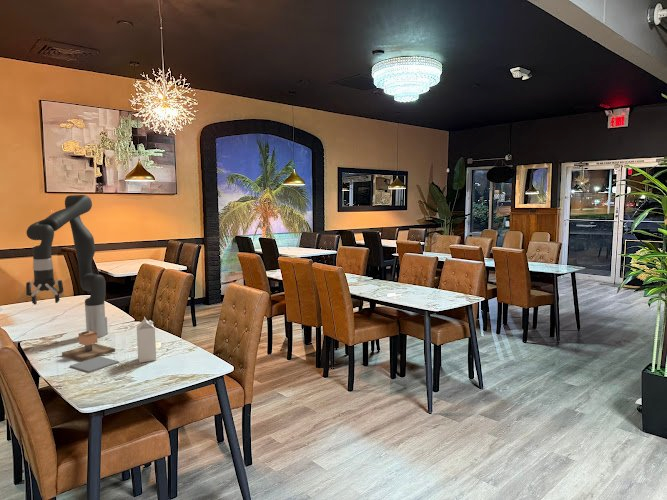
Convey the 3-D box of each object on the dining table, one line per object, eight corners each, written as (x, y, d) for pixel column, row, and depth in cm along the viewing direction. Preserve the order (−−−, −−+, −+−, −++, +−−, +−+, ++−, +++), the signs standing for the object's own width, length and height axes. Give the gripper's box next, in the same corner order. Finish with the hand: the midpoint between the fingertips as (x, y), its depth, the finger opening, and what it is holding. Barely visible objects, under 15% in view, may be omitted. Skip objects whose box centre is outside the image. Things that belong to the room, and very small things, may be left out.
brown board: (94, 346, 227) (93, 328, 226) (115, 351, 219) (114, 333, 218) (62, 355, 213) (60, 336, 212) (82, 361, 205) (81, 341, 205)
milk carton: (139, 363, 203) (137, 321, 201) (137, 358, 209) (136, 317, 208) (156, 360, 206) (154, 319, 205) (154, 355, 213) (152, 315, 211)
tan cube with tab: (90, 340, 220) (89, 328, 219) (97, 342, 217) (96, 330, 216) (79, 343, 215) (78, 331, 214) (86, 345, 212) (85, 333, 211)
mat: (100, 357, 210) (99, 356, 210) (119, 362, 204) (119, 361, 204) (69, 366, 198) (69, 365, 198) (89, 372, 191) (89, 371, 191)
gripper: (63, 266, 214) (65, 300, 216) (27, 268, 209) (30, 303, 211) (59, 268, 207) (61, 304, 209) (22, 270, 202) (25, 306, 204)
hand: (46, 303), depth 210 cm, fingers open, 8 cm apart
